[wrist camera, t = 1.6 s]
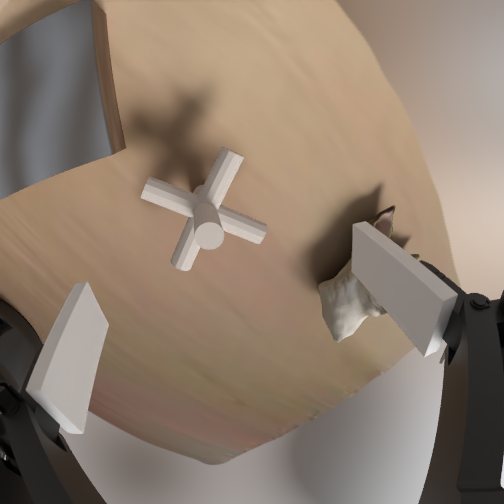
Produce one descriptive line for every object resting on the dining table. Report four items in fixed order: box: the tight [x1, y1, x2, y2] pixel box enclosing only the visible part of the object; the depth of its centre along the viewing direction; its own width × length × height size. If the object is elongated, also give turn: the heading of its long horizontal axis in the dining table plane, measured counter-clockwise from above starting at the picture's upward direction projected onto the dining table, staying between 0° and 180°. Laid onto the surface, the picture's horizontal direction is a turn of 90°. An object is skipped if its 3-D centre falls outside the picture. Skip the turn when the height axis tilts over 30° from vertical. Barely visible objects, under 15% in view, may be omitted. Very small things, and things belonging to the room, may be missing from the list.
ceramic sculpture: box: [318, 206, 419, 342], centre depth 30 cm, size 11×9×15 cm
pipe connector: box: [141, 147, 267, 271], centre depth 22 cm, size 10×10×10 cm
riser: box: [0, 0, 126, 200], centre depth 16 cm, size 16×14×5 cm
